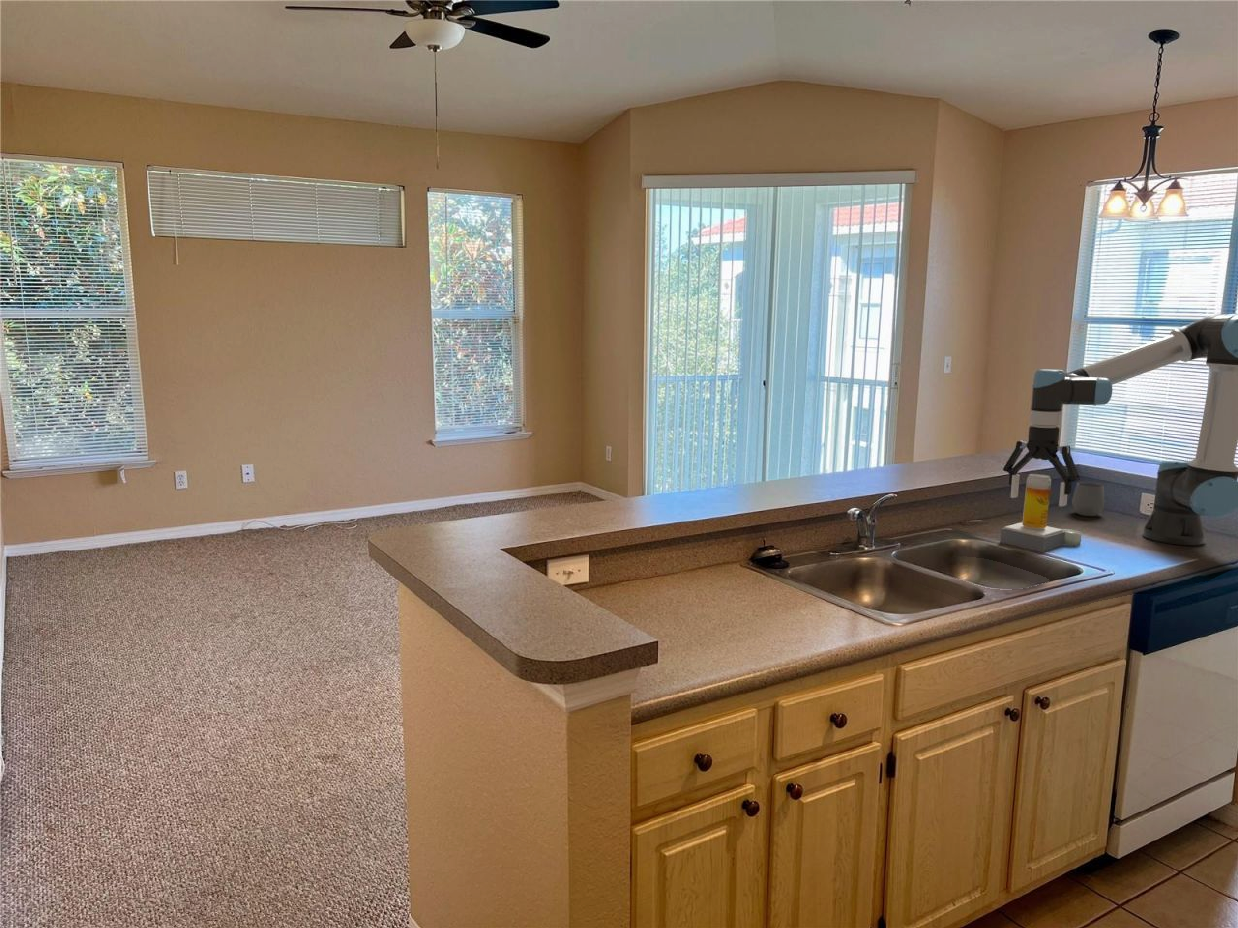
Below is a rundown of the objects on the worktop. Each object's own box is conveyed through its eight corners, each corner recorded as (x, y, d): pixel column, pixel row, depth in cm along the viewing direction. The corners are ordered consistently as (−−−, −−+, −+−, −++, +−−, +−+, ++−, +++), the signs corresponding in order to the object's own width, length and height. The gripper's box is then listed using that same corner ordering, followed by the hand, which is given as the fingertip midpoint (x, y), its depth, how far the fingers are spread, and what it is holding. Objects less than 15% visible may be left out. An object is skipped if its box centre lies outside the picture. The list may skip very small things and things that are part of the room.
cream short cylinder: (1084, 544, 238) (1085, 532, 238) (1074, 547, 235) (1075, 535, 234) (1062, 539, 243) (1064, 527, 242) (1052, 542, 239) (1053, 530, 239)
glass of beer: (1045, 531, 232) (1051, 478, 230) (1021, 528, 235) (1026, 476, 232) (1046, 527, 237) (1052, 475, 235) (1022, 524, 240) (1028, 472, 238)
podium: (1063, 545, 236) (1065, 529, 235) (1042, 552, 229) (1044, 535, 228) (1021, 536, 245) (1023, 520, 245) (1000, 542, 238) (1001, 526, 237)
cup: (1109, 516, 273) (1113, 486, 271) (1092, 519, 268) (1096, 488, 266) (1081, 510, 281) (1084, 480, 279) (1064, 512, 276) (1067, 483, 274)
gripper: (1098, 429, 224) (1090, 507, 227) (1007, 420, 243) (1001, 492, 247) (1085, 432, 219) (1077, 511, 223) (994, 422, 239) (988, 495, 242)
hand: (1037, 501), depth 235 cm, fingers open, 13 cm apart
